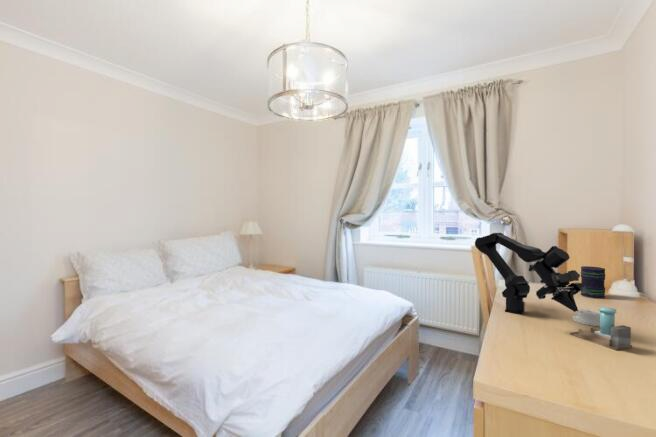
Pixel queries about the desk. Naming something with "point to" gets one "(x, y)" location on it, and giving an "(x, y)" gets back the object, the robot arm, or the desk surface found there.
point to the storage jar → (593, 282)
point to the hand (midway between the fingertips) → (576, 311)
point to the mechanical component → (587, 317)
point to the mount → (617, 341)
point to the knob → (606, 321)
